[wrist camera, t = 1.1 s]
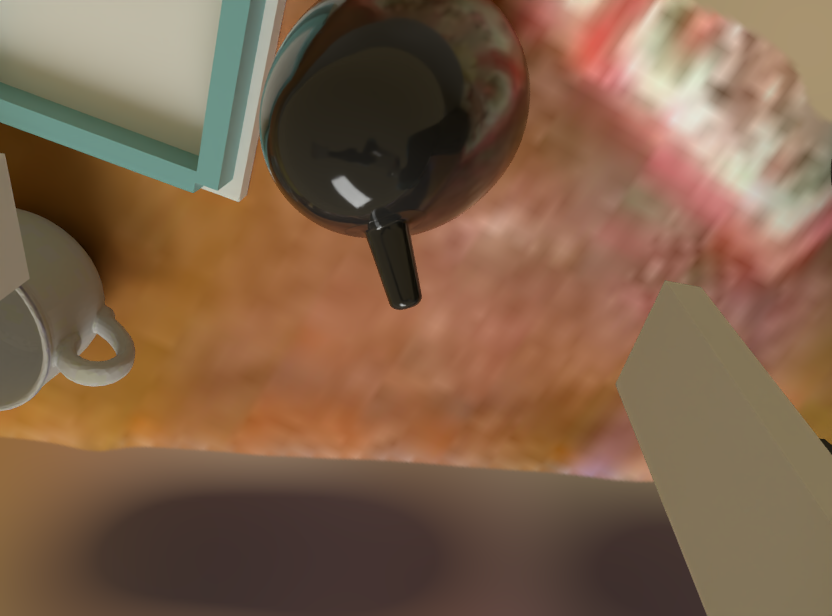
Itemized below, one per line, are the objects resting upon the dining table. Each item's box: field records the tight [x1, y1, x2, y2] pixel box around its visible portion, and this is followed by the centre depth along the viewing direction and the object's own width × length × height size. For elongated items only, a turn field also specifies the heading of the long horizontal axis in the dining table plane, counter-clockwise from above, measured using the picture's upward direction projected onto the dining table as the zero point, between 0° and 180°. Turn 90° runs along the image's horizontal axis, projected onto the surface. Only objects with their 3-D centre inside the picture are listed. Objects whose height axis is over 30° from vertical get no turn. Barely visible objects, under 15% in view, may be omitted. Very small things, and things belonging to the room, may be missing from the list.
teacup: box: [0, 208, 135, 411], centre depth 33 cm, size 14×11×8 cm
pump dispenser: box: [259, 0, 530, 310], centre depth 22 cm, size 10×10×15 cm
